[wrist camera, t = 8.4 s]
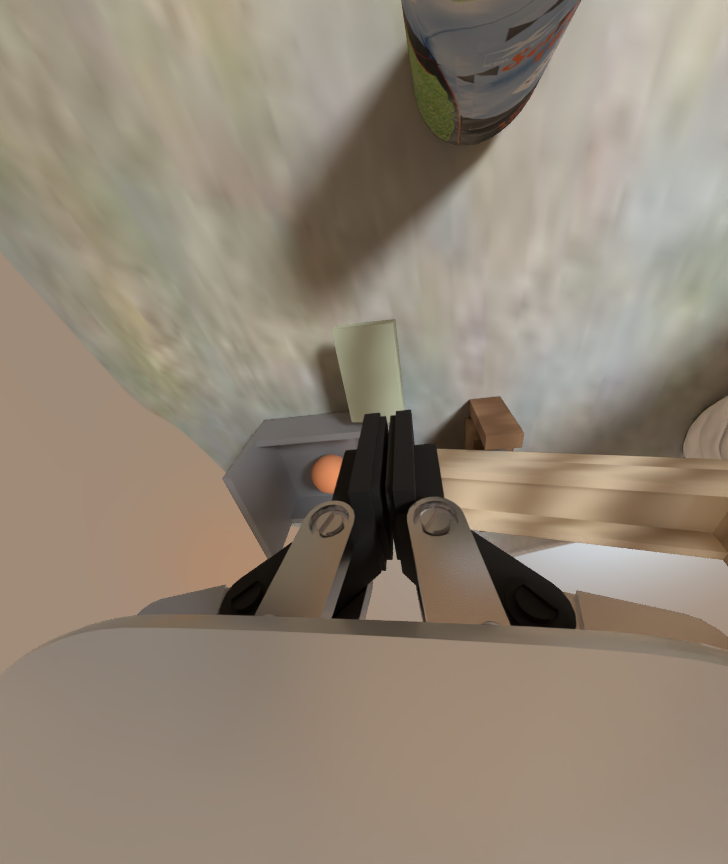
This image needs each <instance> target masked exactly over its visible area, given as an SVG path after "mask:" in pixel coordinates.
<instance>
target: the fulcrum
mask: <svg viewBox="0 0 728 864" xmlns="http://www.w3.org/2000/svg"><path fill="white" fill-rule="evenodd" d="M469 413H470V415H471V418H465V450H484V451H488V450H493V449H505V451H511V452H513V448H519V447H522V443H523V436H524V432H523V431H522V429H521V427H520V426H519V424H518V423H517V421H516V420H515V418H514V417H513V415H512V414H511V412H510V411H509V409H508V408H507V406H506V405H505V403H504V402H503V400H502V399H501V397H500V396H499V397H490V398H480V399H471V400H470V402H469ZM480 532H487V531H480Z"/></svg>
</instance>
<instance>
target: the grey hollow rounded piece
mask: <svg viewBox="0 0 728 864" xmlns="http://www.w3.org/2000/svg"><path fill="white" fill-rule="evenodd" d="M683 452H684V456H685V458H699V459H726V460H728V396H726V397H724V398H723V399H721V400H719V401H718V402H716V403H715V404H713V405H712V406H710V407H709V408H707V409H706V410H705V411H703V412H702V413H701V414H700V416H699V417H698V418H697V419H696V420H695V421H694V422H693V424H692V425H691V426H690V428H689V430H688V432H687V436H686V438H685V441H684V444H683Z"/></svg>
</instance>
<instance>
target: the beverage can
mask: <svg viewBox="0 0 728 864" xmlns="http://www.w3.org/2000/svg"><path fill="white" fill-rule="evenodd" d="M401 2H402V9H403V16H404V23H405V30H406V37H407V44H408V51H409V58H410V65H411V72H412V78H413V85H414V92H415V98H416V101H417V105H418V109H419V111H420V113H421V115H422V118H423V120H424V121H425V123H426V124H427V126H428V127H429V129H430V130H431V131H432V132H433V133H434V134H435V135H437V136H438V137H439V138H441V139H443V140H444V141H446V142H449V143H452V144H455V145H471V144H477V143H480V142H482V141H485V140H487V139H489V138H491V137H493V136H494V135H496V134H498V133H499V132H500V131H502V130H503V129H504V128H505V127H506V126H508V125H509V124H510V123H511V122H512V121H513V120H514V118H515V117H516V116H517V115H518V114H519V113H520V112H521V110H522V109H523V107H524V106H525V105H526V103H527V102H528V100H529V99H530V97H531V95H532V93H533V91H534V89H535V88H536V86H537V84H538V82H539V80H540V78H541V76H542V74H543V72H544V71H545V69H546V67H547V65H548V63H549V61H550V59H551V57H552V55H553V53H554V51H555V49H556V48H557V46H558V44H559V42H560V40H561V38H562V36H563V34H564V32H565V30H566V28H567V27H568V25H569V23H570V21H571V19H572V17H573V15H574V13H575V11H576V9H577V7H578V6H579V4H580V2H581V0H401Z"/></svg>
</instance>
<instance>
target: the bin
mask: <svg viewBox="0 0 728 864" xmlns="http://www.w3.org/2000/svg"><path fill="white" fill-rule="evenodd" d="M362 424H363V422H352V421H351V417H350V412H349V411H347V412H337V413H328V414H318V415H309V416H299V417H290V418H281V419H271V420H264V421H263V423H262V424H261V425H260V427H259V428H258V430H257V431H256V432H255V434H254V435H253V437H252V438H251V439H250V441H249V442H248V444H247V445H246V446H245V448H244V449H243V451H242V452H241V453H240V455H239V456H238V457H237V459H236V460H235V462H234V463H233V464H232V466H231V467H230V469H229V470H228V471H227V473H226V474H225V476H224V477H223V480H224V482H225V484H226V486H227V488H228V489H229V491H230V493H231V495H232V497H233V498H234V500H235V502H236V503H237V505H238V507H239V509H240V511H241V512H242V514H243V516H244V518H245V519H246V521H247V523H248V525H249V527H250V528H251V530H252V532H253V534H254V535H255V537H256V539H257V541H258V543H259V544H260V546H261V548H262V550H263V551H264V553H265V555H266V557H267V558H268V559H269V558H270V557H272V556H273V555H275V554H276V553H277V552H279V551H280V550H282V549H283V546H284V543H285V540H286V538H287V535H288V532H289V529H290V527H291V524H292V523H303V521H304V519H305V517H306V516H307V515H308V513H309V512H310V511H311V510H312V509H313V508H315V507H316V506H318V505H320V504H322V503H324V502H328V501H332V497H333V494H334V493H332V494H329V493H324V492H322V491H320V490H319V489H318V488H317V487H316V486H315V485H314V483H313V481H312V476H311V472H312V468H313V465H314V464H315V462H316V461H317V460H318V459H319V458H321V457H322V456H325V455H329V454H333V455H338V456H340V457H342V458H343V456H344V453H345V451H346V450H354V449H357V447H358V442H359V438H360V433H361V428H362Z"/></svg>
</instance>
